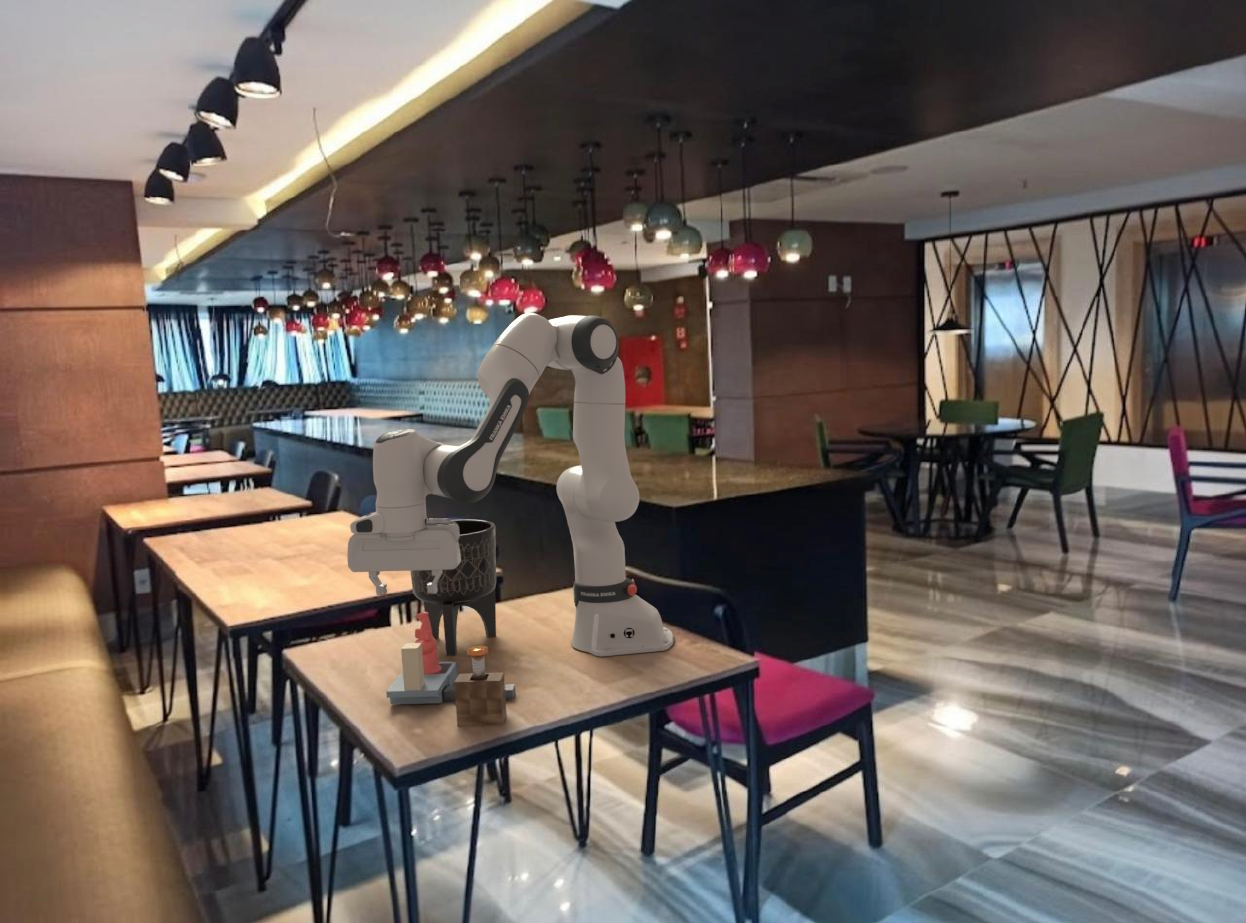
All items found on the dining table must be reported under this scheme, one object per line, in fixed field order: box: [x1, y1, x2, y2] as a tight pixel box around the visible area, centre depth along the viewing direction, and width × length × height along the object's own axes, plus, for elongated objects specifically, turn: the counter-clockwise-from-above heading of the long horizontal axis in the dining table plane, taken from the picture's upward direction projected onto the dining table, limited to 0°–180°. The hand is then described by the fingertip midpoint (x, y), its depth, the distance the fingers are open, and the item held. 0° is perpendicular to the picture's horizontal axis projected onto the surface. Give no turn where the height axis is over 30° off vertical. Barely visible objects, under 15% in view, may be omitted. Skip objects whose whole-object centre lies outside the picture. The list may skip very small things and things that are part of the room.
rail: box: [442, 683, 516, 703], centre depth 170 cm, size 22×3×2 cm, turn 88°
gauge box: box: [453, 672, 507, 727], centre depth 159 cm, size 8×4×8 cm, turn 88°
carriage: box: [386, 642, 459, 705], centre depth 173 cm, size 10×16×11 cm, turn 178°
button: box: [466, 645, 489, 681], centre depth 158 cm, size 4×4×7 cm
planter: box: [410, 518, 497, 656], centre depth 201 cm, size 20×20×26 cm
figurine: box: [413, 611, 442, 674], centre depth 176 cm, size 5×5×15 cm
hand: (407, 593), depth 165 cm, fingers open, 8 cm apart
